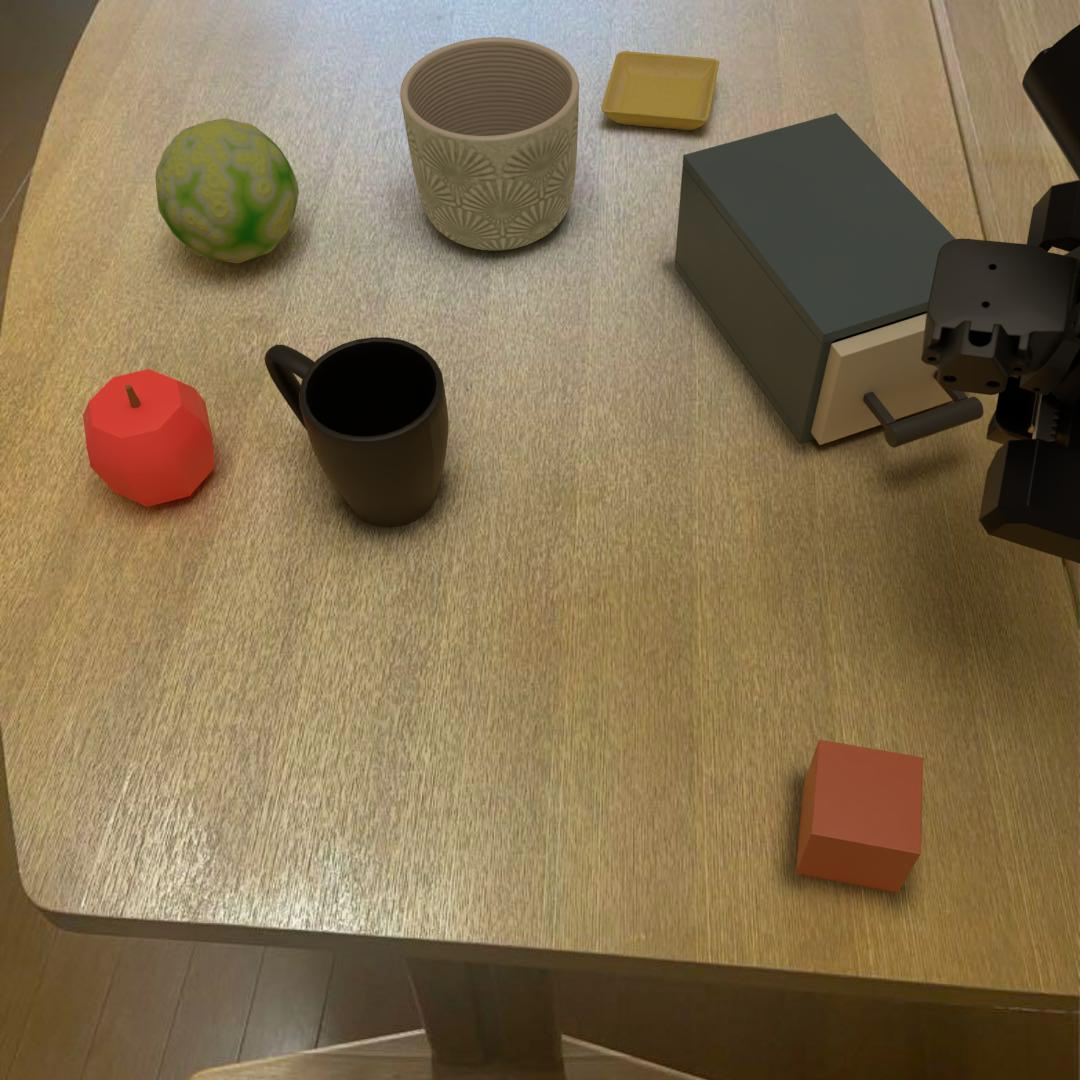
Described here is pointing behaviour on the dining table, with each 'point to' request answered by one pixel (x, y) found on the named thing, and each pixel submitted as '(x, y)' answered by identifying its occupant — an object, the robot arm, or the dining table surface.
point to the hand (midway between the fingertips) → (995, 435)
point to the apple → (149, 437)
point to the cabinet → (801, 251)
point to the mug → (371, 422)
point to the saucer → (660, 90)
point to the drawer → (887, 387)
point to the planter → (493, 139)
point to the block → (861, 816)
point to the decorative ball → (226, 190)
